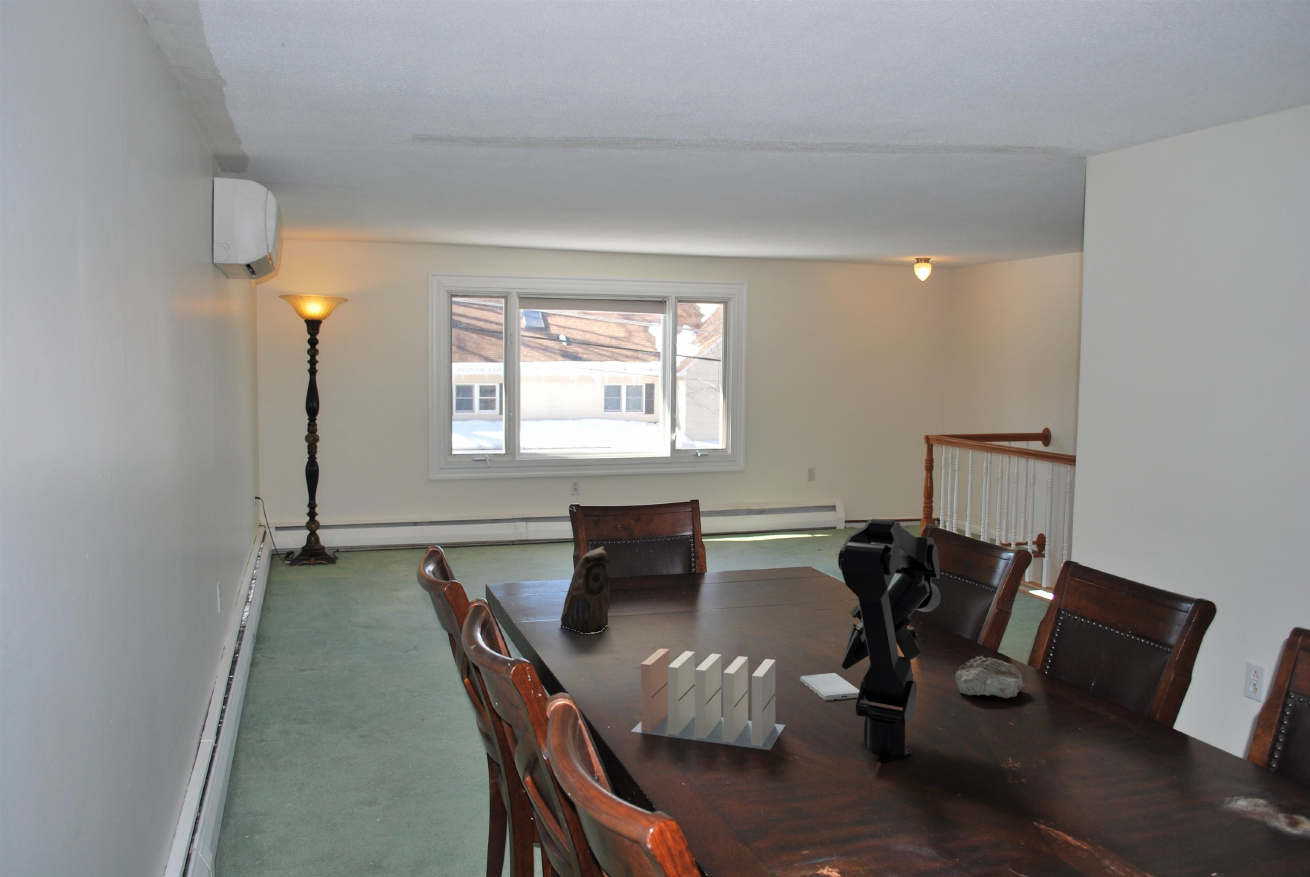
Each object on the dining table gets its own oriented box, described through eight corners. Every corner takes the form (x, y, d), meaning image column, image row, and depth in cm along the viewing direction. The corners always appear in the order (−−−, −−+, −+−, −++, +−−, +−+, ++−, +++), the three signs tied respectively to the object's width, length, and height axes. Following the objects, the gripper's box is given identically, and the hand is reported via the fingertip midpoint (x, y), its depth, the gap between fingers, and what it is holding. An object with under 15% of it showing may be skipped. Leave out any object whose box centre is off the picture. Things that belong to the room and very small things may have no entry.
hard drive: (799, 676, 198) (825, 695, 186) (836, 672, 200) (863, 691, 188) (799, 683, 198) (825, 703, 186) (836, 680, 200) (863, 699, 188)
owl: (604, 620, 248) (604, 543, 246) (624, 631, 236) (624, 551, 235) (559, 625, 242) (558, 547, 241) (577, 638, 231) (576, 556, 229)
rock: (983, 694, 181) (970, 642, 186) (950, 706, 188) (939, 656, 193) (1039, 697, 187) (1026, 647, 192) (1005, 709, 194) (993, 661, 199)
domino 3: (721, 719, 174) (721, 654, 173) (705, 738, 164) (705, 670, 163) (711, 718, 174) (711, 653, 173) (695, 737, 165) (695, 669, 164)
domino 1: (669, 712, 177) (669, 649, 176) (650, 731, 168) (650, 664, 167) (660, 711, 178) (659, 648, 177) (641, 730, 168) (640, 663, 167)
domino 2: (695, 716, 175) (695, 651, 174) (677, 735, 166) (677, 667, 165) (685, 714, 176) (685, 650, 175) (667, 734, 167) (667, 666, 166)
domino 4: (748, 722, 172) (748, 657, 171) (733, 742, 162) (733, 673, 162) (738, 721, 172) (738, 656, 172) (723, 741, 163) (723, 672, 162)
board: (785, 729, 171) (785, 725, 171) (769, 754, 159) (769, 749, 159) (654, 713, 179) (654, 708, 179) (630, 735, 168) (630, 731, 168)
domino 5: (775, 725, 170) (775, 659, 169) (762, 746, 161) (762, 676, 160) (765, 724, 171) (765, 658, 170) (751, 745, 161) (751, 675, 161)
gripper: (946, 647, 161) (886, 715, 163) (925, 615, 179) (871, 677, 181) (894, 606, 161) (835, 675, 163) (878, 578, 179) (825, 640, 181)
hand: (843, 667), depth 172 cm, fingers closed
